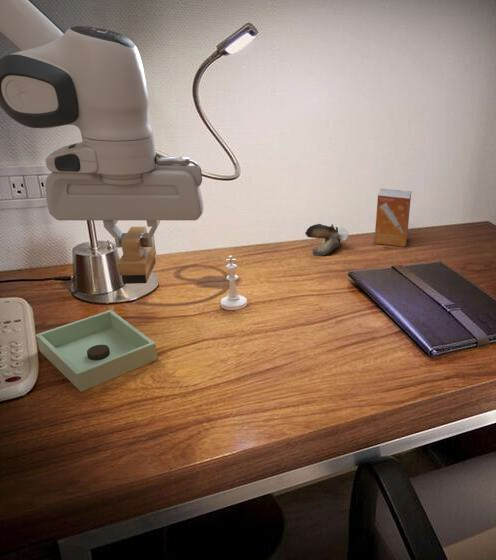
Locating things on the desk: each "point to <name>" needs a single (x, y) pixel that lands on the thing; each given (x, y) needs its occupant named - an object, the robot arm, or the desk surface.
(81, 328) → the tray
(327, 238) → the grey brown curved piece
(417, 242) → the desk surface
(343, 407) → the desk surface
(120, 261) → the brush
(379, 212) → the small box
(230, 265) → the chess piece
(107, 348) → the dark brown disc
